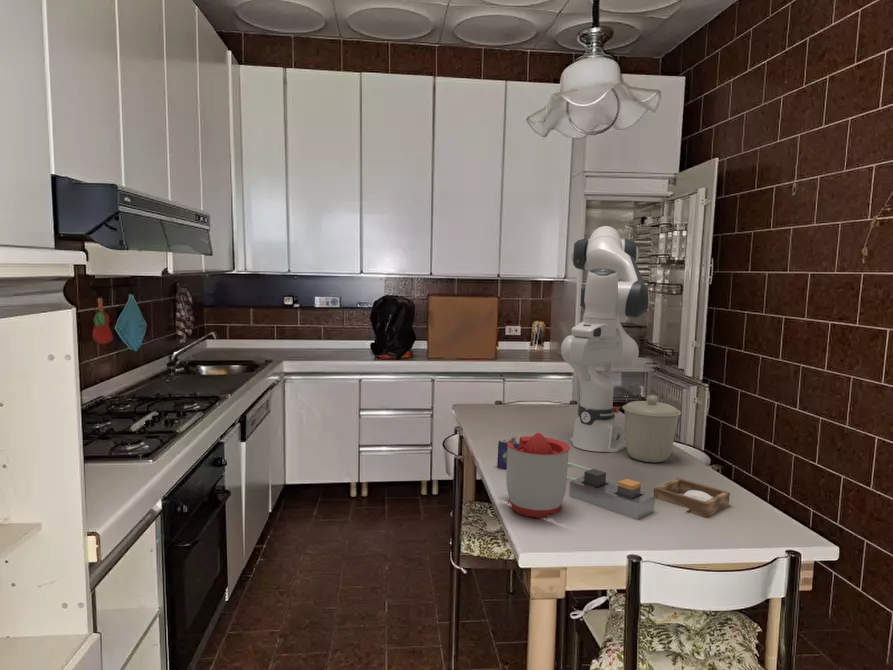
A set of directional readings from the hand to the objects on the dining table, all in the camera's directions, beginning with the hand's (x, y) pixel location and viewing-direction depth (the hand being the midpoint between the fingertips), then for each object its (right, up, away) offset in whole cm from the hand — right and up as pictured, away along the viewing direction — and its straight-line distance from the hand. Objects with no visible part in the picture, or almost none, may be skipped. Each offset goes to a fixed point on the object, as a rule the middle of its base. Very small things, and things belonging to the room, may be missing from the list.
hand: (596, 379), depth 170 cm
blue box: (-21, -29, +17) cm, 40 cm away
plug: (+5, -32, -13) cm, 35 cm away
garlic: (+26, -33, -6) cm, 42 cm away
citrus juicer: (-19, -32, -12) cm, 40 cm away
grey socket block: (+1, -32, -9) cm, 34 cm away
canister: (+25, -29, +35) cm, 52 cm away
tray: (-4, -30, +13) cm, 33 cm away
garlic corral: (+24, -33, -4) cm, 41 cm away
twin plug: (-2, -31, -6) cm, 31 cm away
